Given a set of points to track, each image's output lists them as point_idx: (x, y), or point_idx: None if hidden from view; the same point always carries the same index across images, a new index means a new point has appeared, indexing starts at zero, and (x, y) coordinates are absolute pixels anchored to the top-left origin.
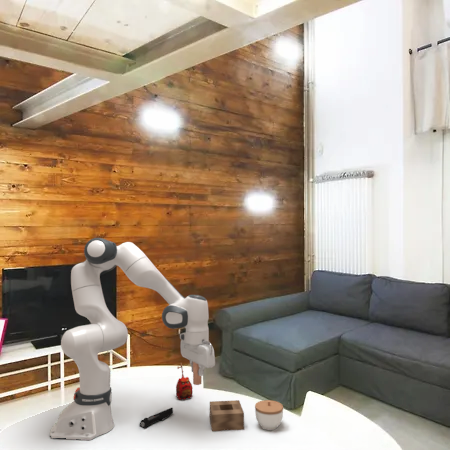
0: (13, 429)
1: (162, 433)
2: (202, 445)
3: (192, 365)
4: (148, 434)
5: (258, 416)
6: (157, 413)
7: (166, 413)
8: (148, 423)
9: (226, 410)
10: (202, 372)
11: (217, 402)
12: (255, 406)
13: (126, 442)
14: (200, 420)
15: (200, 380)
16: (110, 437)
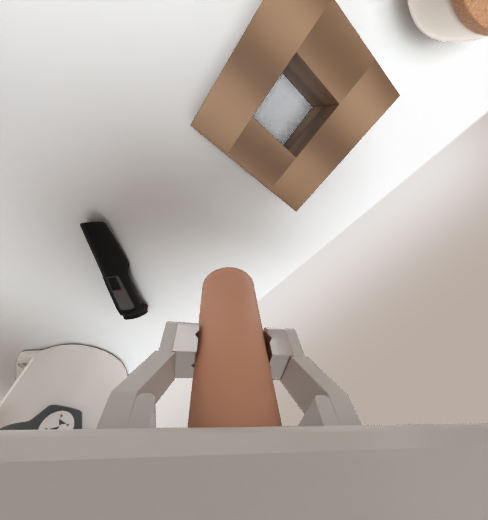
0: None
1: (196, 291)
2: (310, 257)
3: (159, 392)
4: (180, 313)
5: (455, 38)
6: (105, 277)
7: (111, 250)
8: (143, 307)
9: (318, 139)
10: (298, 351)
11: (225, 99)
12: (465, 4)
13: None
14: (198, 172)
15: (256, 299)
16: None
